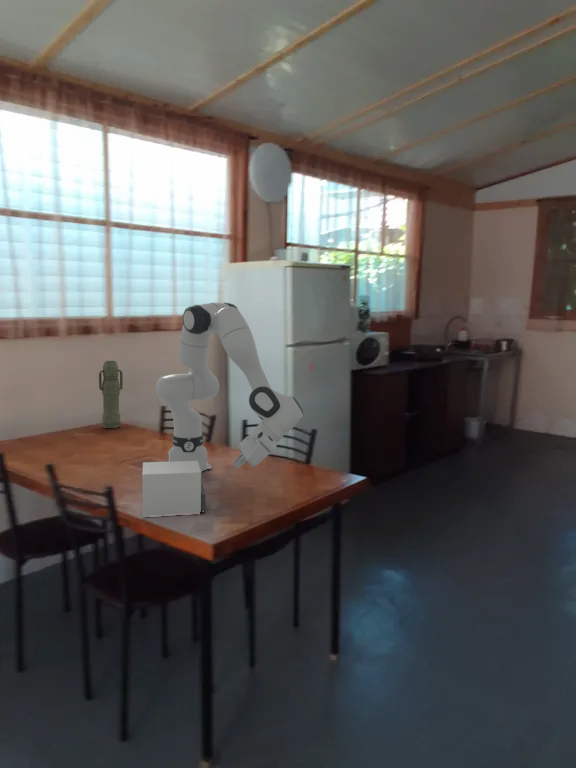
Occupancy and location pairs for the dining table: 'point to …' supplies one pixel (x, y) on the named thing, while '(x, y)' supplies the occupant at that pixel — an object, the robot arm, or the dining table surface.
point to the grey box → (171, 487)
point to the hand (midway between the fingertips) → (235, 466)
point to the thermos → (111, 394)
